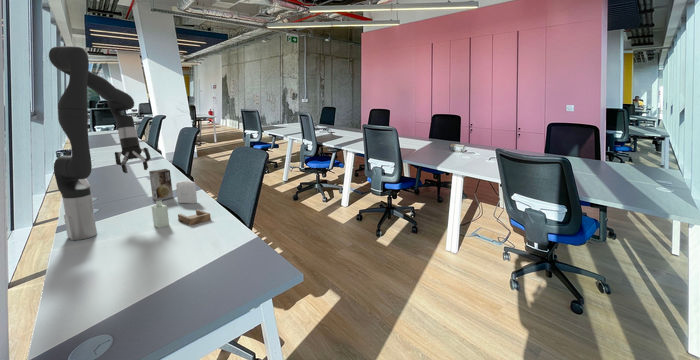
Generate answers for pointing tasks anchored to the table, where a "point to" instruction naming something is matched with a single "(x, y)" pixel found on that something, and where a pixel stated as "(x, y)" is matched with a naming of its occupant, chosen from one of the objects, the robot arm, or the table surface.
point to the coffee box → (161, 184)
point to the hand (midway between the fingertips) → (136, 171)
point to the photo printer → (186, 192)
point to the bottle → (160, 214)
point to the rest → (194, 218)
